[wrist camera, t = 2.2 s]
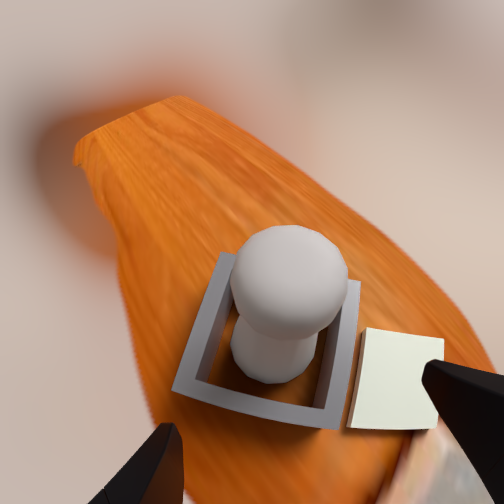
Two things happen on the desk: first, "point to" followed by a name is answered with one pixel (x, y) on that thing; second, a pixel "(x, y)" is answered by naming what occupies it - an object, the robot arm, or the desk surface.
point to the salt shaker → (284, 300)
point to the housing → (320, 415)
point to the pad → (393, 381)
